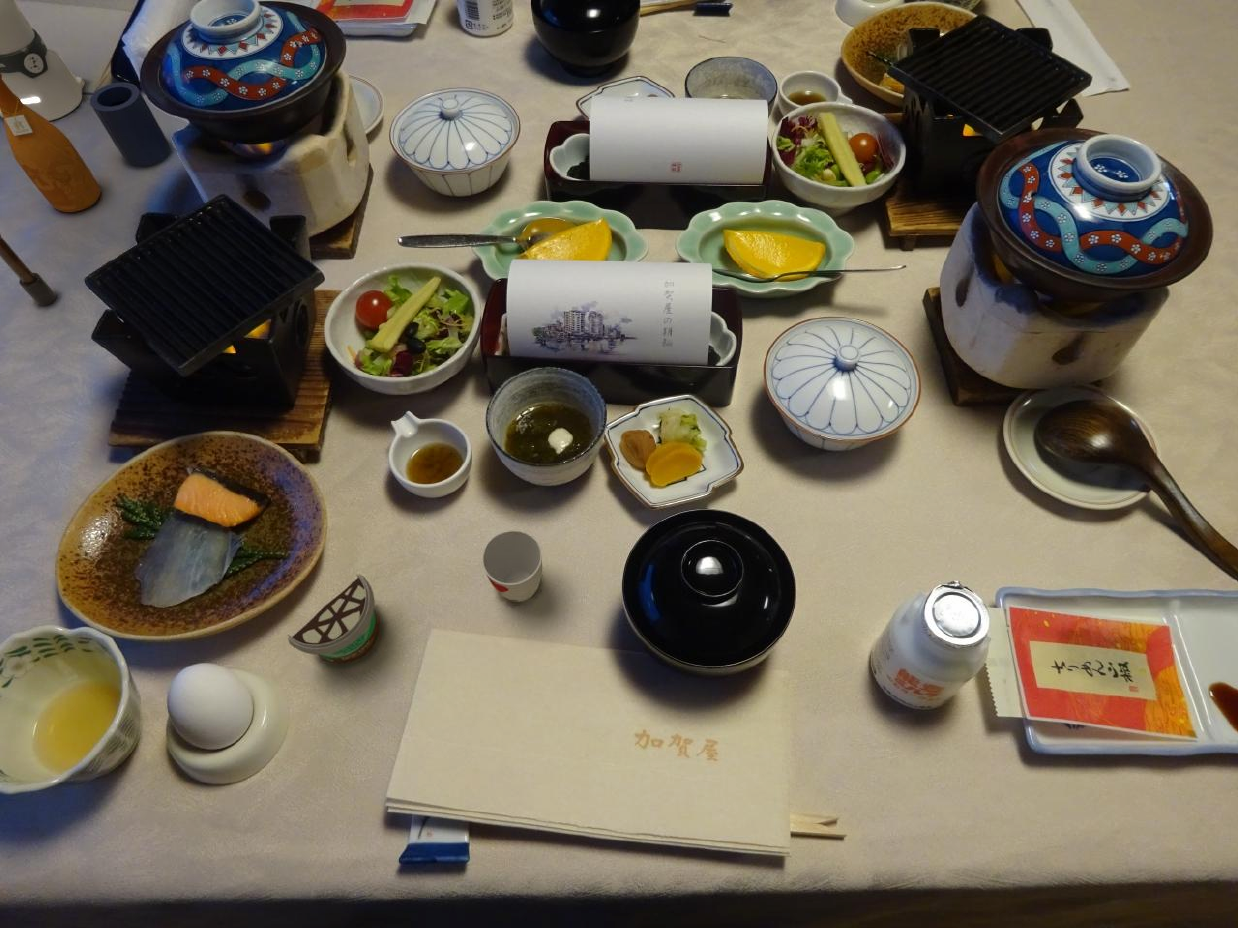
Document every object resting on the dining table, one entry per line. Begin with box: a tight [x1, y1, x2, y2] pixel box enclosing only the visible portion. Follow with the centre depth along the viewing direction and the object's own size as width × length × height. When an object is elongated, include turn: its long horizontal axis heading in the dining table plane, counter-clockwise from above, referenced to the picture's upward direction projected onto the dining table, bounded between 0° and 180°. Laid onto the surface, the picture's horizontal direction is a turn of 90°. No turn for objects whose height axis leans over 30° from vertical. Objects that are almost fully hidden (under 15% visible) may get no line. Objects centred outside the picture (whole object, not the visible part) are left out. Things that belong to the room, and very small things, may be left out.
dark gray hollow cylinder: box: [89, 82, 172, 169], centre depth 160 cm, size 9×9×13 cm
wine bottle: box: [0, 73, 101, 213], centre depth 145 cm, size 10×10×30 cm
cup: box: [481, 529, 543, 603], centre depth 111 cm, size 8×8×10 cm
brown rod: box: [0, 233, 58, 307], centre depth 137 cm, size 3×3×16 cm
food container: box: [287, 573, 380, 664], centre depth 106 cm, size 12×6×10 cm, turn 139°
